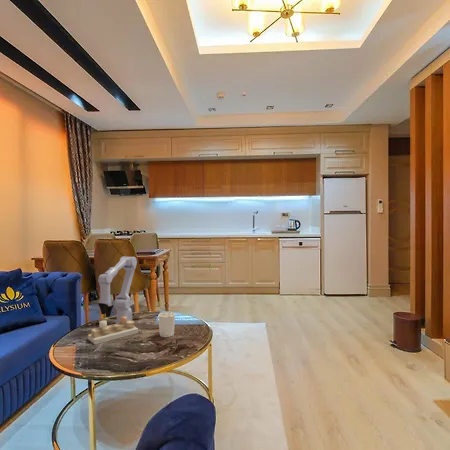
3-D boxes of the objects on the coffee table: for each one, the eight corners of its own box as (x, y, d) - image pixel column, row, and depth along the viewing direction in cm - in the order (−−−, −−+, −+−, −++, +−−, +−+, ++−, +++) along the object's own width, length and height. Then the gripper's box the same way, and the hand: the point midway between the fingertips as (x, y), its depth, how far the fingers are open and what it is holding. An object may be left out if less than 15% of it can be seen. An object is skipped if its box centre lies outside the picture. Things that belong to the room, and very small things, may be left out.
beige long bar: (131, 325, 197) (131, 320, 197) (134, 327, 193) (134, 322, 193) (91, 335, 181) (91, 329, 181) (94, 338, 177) (94, 331, 177)
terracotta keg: (125, 321, 194) (125, 315, 194) (127, 323, 190) (127, 316, 190) (119, 323, 191) (118, 316, 191) (121, 324, 188) (121, 318, 188)
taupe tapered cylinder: (105, 326, 186) (105, 319, 185) (108, 328, 183) (107, 321, 183) (98, 328, 183) (98, 321, 183) (101, 329, 180) (100, 322, 180)
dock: (130, 328, 200) (130, 323, 200) (138, 332, 191) (138, 328, 191) (87, 338, 182) (87, 334, 182) (94, 344, 174) (94, 339, 174)
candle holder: (177, 331, 192) (176, 312, 192) (172, 337, 182) (172, 317, 182) (161, 331, 193) (161, 311, 193) (156, 337, 183) (155, 317, 183)
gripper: (94, 292, 198) (95, 314, 198) (103, 296, 187) (103, 319, 188) (105, 290, 203) (106, 311, 203) (114, 294, 192) (115, 317, 192)
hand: (105, 315), depth 196 cm, fingers open, 7 cm apart
